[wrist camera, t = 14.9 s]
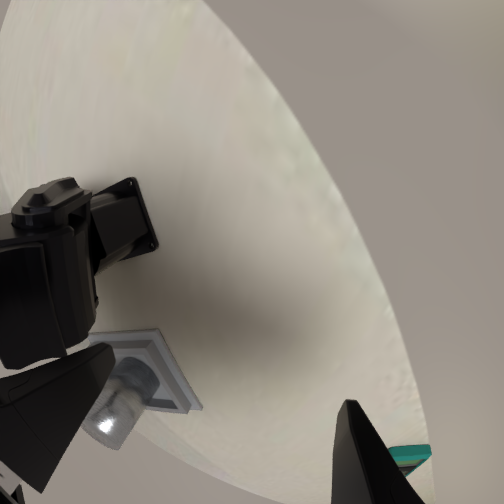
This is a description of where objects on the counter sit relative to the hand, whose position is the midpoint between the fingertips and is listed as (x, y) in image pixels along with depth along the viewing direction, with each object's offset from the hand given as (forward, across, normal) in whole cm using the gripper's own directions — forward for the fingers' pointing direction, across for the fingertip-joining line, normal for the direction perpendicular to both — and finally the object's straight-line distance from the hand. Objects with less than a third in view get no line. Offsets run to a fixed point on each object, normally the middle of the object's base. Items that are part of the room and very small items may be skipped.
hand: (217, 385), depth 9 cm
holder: (+13, +14, +17) cm, 26 cm away
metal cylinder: (+12, +14, +17) cm, 25 cm away
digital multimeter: (+14, -23, +32) cm, 42 cm away
